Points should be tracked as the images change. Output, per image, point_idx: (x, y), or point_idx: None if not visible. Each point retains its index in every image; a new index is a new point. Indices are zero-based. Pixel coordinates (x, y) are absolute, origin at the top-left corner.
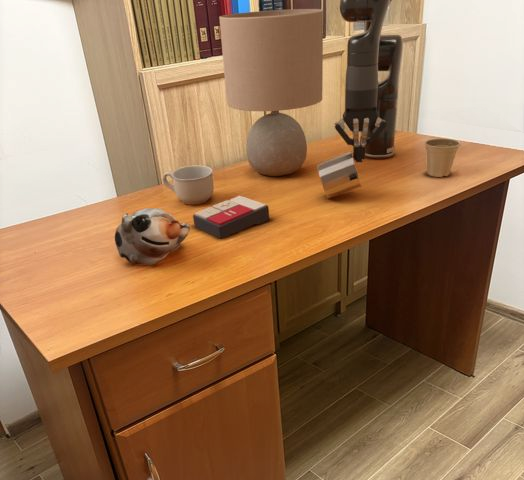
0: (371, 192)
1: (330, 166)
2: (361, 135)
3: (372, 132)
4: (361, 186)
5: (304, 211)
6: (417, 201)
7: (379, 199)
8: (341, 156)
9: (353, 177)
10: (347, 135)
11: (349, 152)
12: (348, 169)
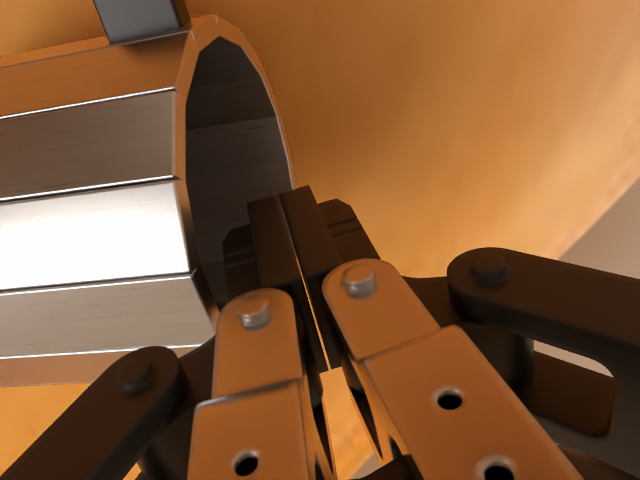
0: (338, 6)
1: (34, 385)
2: (386, 463)
3: (592, 358)
4: (292, 168)
5: (9, 390)
6: (594, 139)
7: (395, 141)
8: (99, 337)
9: None
10: (116, 477)
11: (181, 300)
12: None
